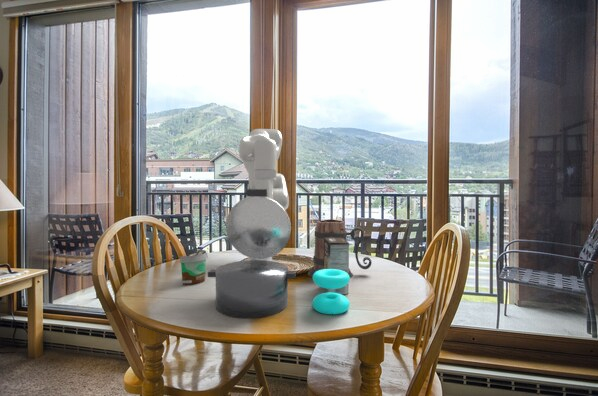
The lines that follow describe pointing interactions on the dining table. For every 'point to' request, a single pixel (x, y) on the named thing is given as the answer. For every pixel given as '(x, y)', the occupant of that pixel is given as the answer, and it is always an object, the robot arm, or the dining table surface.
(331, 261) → the coffee box
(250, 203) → the pot lid
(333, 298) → the donuts
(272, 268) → the cooking pot
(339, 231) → the tankard
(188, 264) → the food container
